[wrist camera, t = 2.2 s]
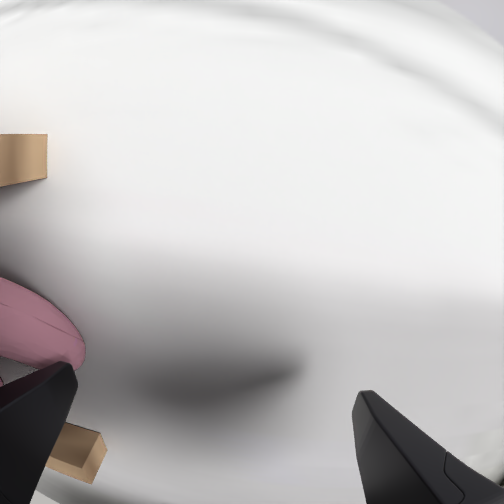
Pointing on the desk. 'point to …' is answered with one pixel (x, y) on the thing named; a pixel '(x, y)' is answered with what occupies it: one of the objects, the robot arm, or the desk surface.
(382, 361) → the desk surface
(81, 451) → the pair of wooden bars
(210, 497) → the desk surface
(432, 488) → the robot arm
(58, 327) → the video game controller
